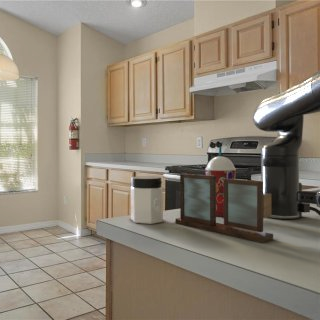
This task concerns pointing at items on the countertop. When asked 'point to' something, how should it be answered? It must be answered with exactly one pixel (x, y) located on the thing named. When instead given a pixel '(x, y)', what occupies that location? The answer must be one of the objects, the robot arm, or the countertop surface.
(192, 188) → the window frame
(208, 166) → the smoothie
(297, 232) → the countertop surface
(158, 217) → the jar
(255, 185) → the sash
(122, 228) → the countertop surface
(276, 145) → the robot arm
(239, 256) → the countertop surface
